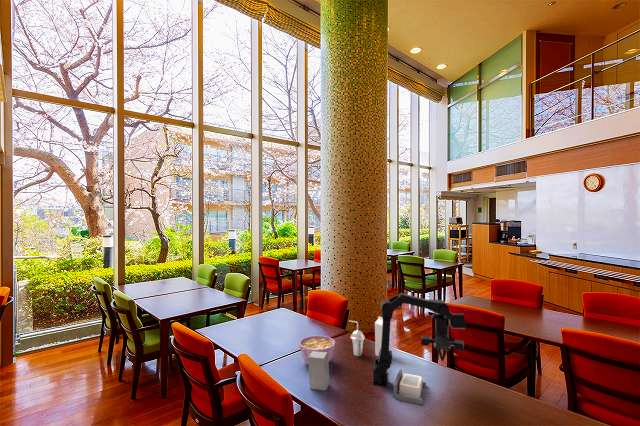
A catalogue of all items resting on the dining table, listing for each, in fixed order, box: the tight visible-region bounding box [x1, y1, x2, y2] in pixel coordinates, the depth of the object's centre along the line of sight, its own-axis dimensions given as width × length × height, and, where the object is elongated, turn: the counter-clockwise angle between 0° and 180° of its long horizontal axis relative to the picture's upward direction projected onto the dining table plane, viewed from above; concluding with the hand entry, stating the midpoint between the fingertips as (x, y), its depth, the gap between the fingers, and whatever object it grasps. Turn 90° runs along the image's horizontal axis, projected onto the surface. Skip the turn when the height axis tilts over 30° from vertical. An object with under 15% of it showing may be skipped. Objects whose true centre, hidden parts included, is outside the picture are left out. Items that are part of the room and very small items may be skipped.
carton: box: [399, 373, 423, 398], centre depth 150 cm, size 8×11×5 cm
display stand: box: [393, 368, 427, 406], centre depth 148 cm, size 12×16×6 cm
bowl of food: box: [299, 335, 336, 364], centre depth 179 cm, size 20×20×12 cm
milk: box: [374, 315, 391, 357], centre depth 187 cm, size 6×6×22 cm
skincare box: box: [307, 351, 330, 392], centre depth 154 cm, size 8×7×16 cm
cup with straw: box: [348, 319, 366, 357], centre depth 189 cm, size 8×9×20 cm
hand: (442, 360), depth 153 cm, fingers closed
